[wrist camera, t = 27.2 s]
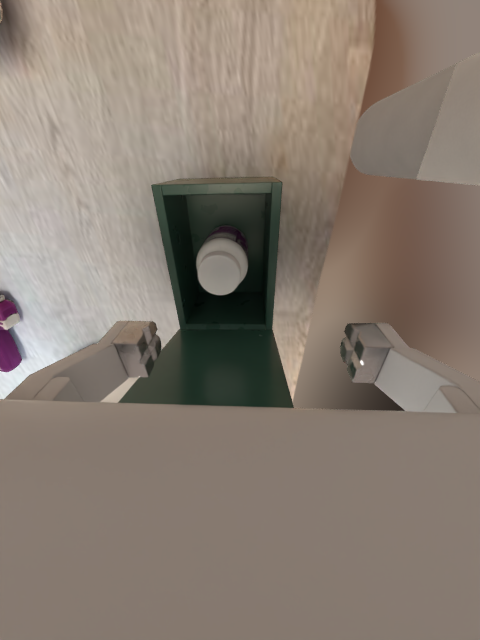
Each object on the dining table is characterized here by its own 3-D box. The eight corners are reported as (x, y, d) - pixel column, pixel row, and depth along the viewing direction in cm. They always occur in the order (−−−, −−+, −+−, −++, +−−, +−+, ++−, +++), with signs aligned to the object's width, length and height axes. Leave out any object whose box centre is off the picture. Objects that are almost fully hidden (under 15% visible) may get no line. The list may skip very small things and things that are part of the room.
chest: (178, 178, 26) (150, 184, 19) (273, 176, 26) (282, 181, 18) (195, 294, 34) (180, 329, 27) (267, 294, 34) (272, 330, 27)
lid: (91, 432, 12) (109, 500, 13) (302, 437, 11) (296, 506, 13) (179, 329, 26) (182, 366, 28) (272, 329, 26) (271, 367, 28)
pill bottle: (249, 265, 31) (249, 301, 23) (209, 267, 31) (195, 304, 23) (247, 222, 28) (246, 245, 20) (203, 225, 28) (184, 249, 20)
